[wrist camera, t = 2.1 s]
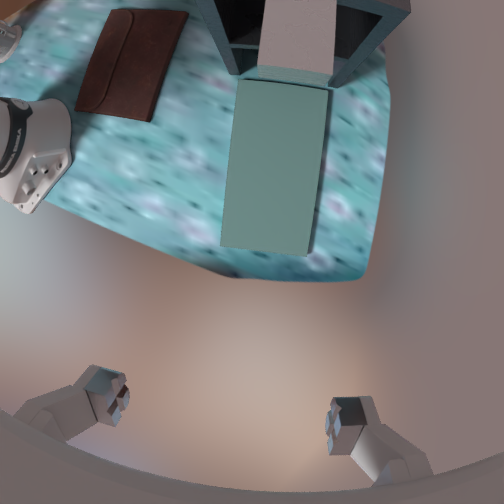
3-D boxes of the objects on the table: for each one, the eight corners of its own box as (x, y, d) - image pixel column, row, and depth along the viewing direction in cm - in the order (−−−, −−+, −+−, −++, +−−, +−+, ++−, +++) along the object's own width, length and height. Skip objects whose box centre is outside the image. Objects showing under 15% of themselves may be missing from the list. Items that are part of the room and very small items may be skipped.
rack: (337, 88, 38) (411, 12, 13) (229, 74, 39) (185, -20, 14) (341, 33, 36) (399, -64, 11) (237, 20, 36) (209, -91, 11)
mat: (305, 254, 46) (306, 256, 45) (221, 244, 46) (220, 246, 45) (327, 92, 39) (328, 90, 38) (238, 81, 39) (238, 79, 38)
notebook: (189, 15, 36) (186, 10, 34) (151, 123, 42) (146, 121, 40) (114, 13, 36) (109, 9, 34) (78, 111, 41) (72, 110, 39)
